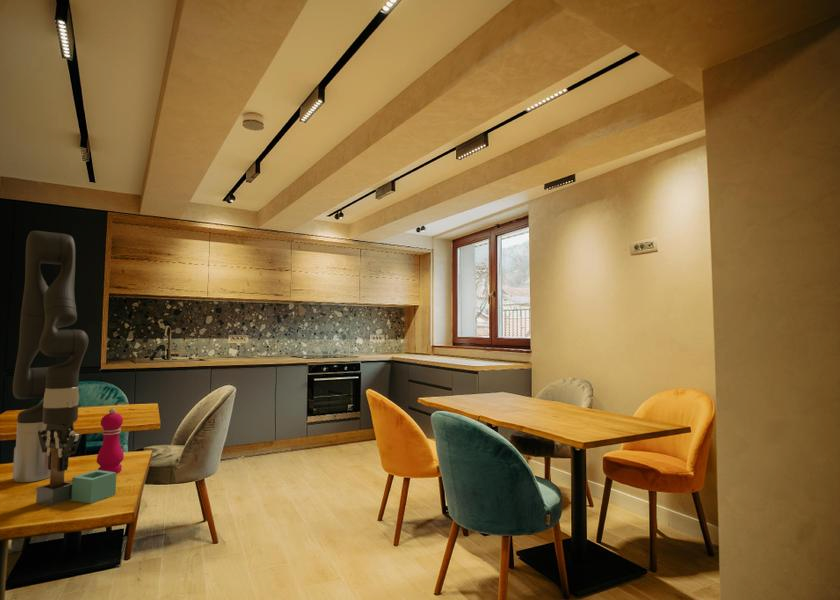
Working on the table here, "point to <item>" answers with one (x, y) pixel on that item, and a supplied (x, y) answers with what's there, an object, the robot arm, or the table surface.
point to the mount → (54, 494)
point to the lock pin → (55, 475)
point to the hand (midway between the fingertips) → (57, 469)
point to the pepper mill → (111, 443)
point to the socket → (93, 486)
